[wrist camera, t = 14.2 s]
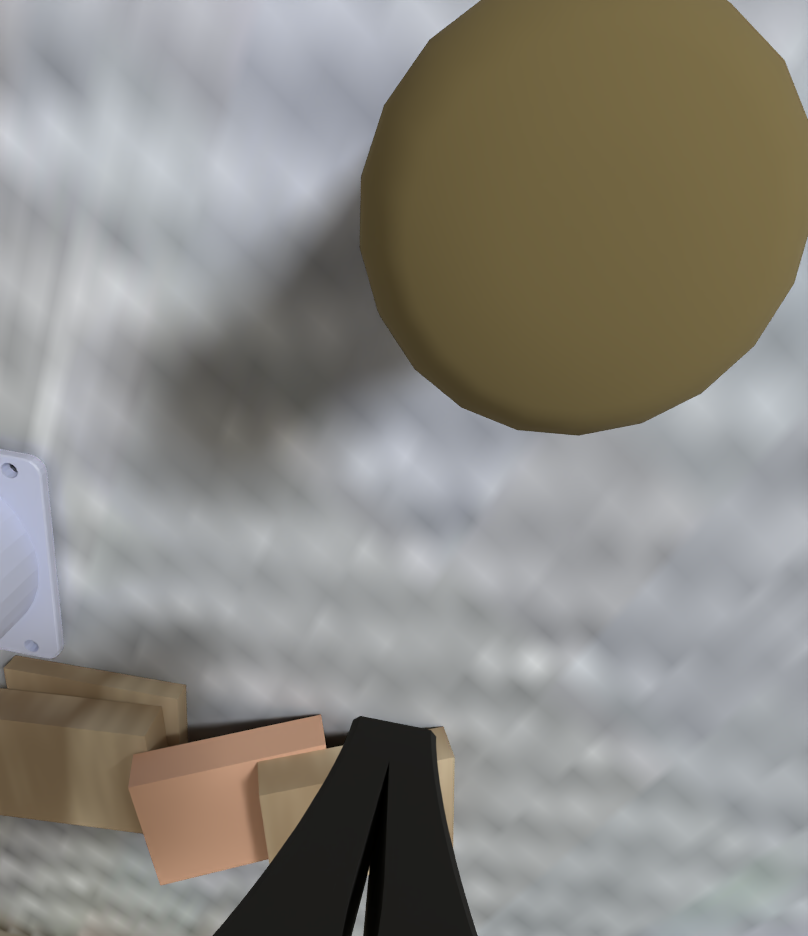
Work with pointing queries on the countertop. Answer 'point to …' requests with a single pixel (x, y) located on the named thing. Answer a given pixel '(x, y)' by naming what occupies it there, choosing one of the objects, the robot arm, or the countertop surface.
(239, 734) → the domino
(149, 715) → the middle domino
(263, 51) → the countertop surface
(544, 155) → the cork
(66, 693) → the domino
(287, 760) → the end domino
